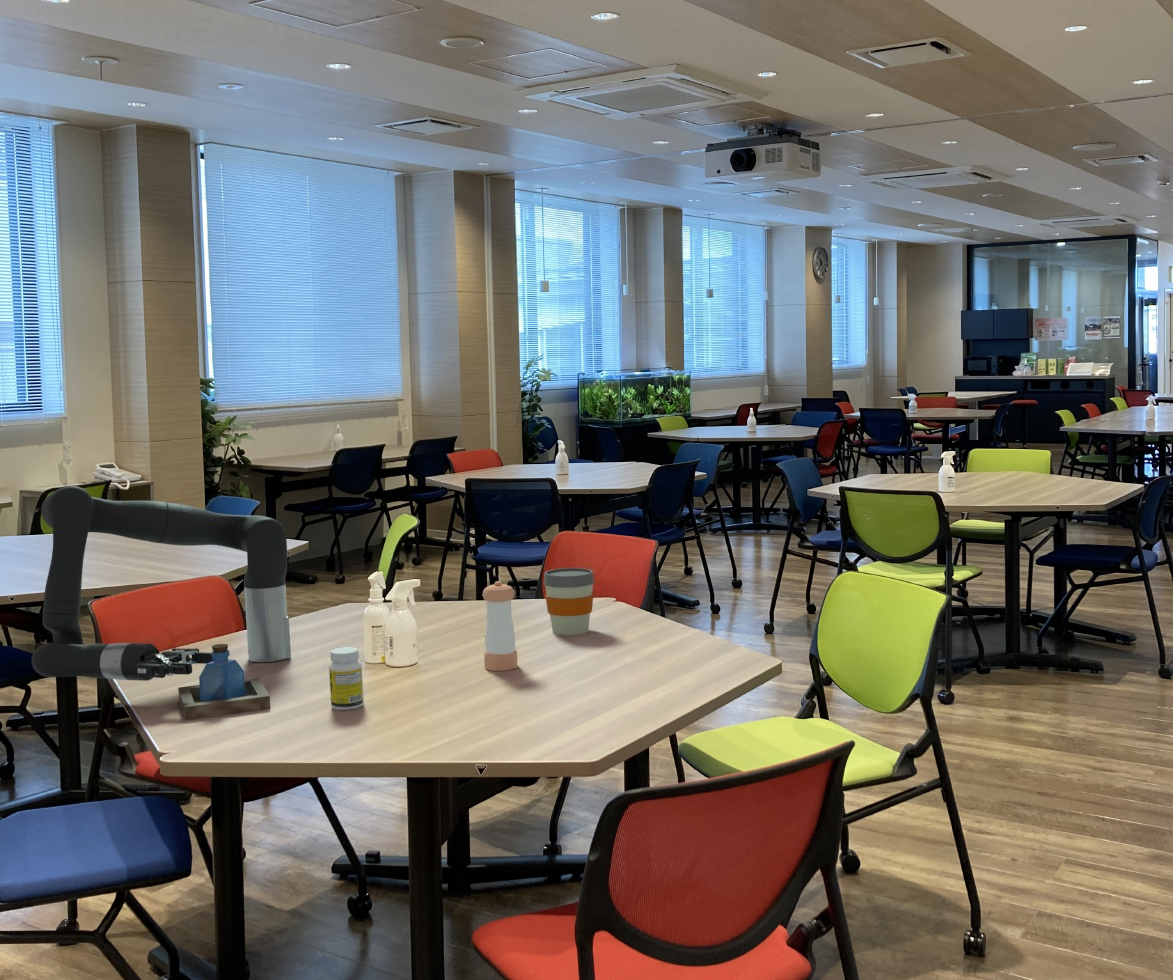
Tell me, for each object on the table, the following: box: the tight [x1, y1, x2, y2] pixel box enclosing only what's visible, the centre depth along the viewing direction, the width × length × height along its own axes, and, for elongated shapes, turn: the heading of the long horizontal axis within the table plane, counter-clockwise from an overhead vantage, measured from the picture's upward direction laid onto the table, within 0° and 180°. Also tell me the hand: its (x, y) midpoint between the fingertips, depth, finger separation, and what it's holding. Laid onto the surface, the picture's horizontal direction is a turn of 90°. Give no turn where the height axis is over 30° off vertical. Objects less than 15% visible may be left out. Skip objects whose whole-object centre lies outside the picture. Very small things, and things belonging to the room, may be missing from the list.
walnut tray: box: [177, 677, 271, 721], centre depth 237 cm, size 16×16×2 cm
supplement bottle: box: [328, 646, 364, 711], centre depth 232 cm, size 6×6×11 cm
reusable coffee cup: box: [543, 567, 595, 636], centre depth 292 cm, size 13×13×15 cm
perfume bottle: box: [198, 643, 246, 702], centre depth 236 cm, size 6×6×12 cm
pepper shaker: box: [482, 580, 519, 672], centre depth 259 cm, size 7×7×19 cm
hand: (202, 663), depth 237 cm, fingers open, 8 cm apart
